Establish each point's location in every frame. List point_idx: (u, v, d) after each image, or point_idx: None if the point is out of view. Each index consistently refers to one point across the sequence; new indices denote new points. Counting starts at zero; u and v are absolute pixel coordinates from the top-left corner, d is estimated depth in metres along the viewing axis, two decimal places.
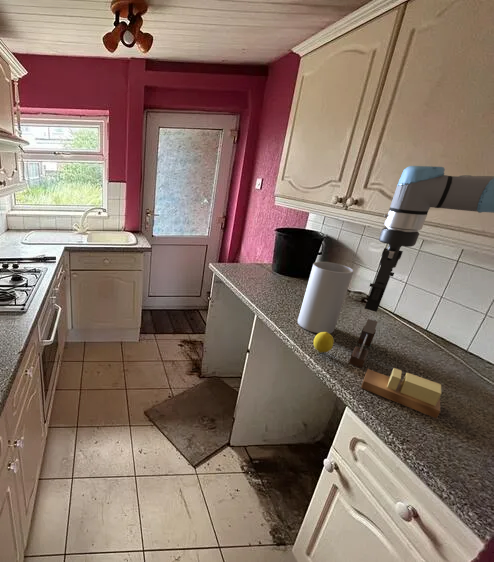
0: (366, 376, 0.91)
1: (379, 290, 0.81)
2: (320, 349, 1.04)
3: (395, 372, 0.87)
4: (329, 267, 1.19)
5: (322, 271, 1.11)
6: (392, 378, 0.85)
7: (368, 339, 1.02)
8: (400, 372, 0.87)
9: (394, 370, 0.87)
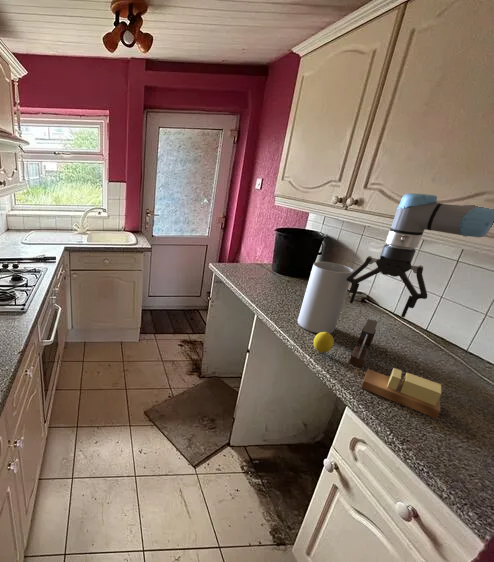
0: (366, 376, 0.91)
1: None
2: (320, 349, 1.04)
3: (395, 372, 0.87)
4: (329, 267, 1.19)
5: (322, 271, 1.11)
6: (392, 378, 0.85)
7: (368, 339, 1.02)
8: (400, 372, 0.87)
9: (394, 370, 0.87)
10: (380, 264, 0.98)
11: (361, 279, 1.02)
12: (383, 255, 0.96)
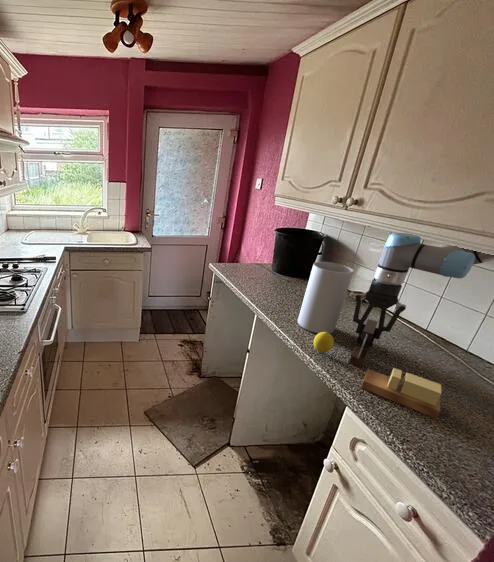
0: (366, 376, 0.91)
1: None
2: (320, 349, 1.04)
3: (395, 372, 0.87)
4: (329, 267, 1.19)
5: (322, 271, 1.11)
6: (392, 378, 0.85)
7: (368, 339, 1.02)
8: (400, 372, 0.87)
9: (394, 370, 0.87)
10: (369, 297, 1.03)
11: (364, 318, 1.06)
12: (371, 289, 1.01)
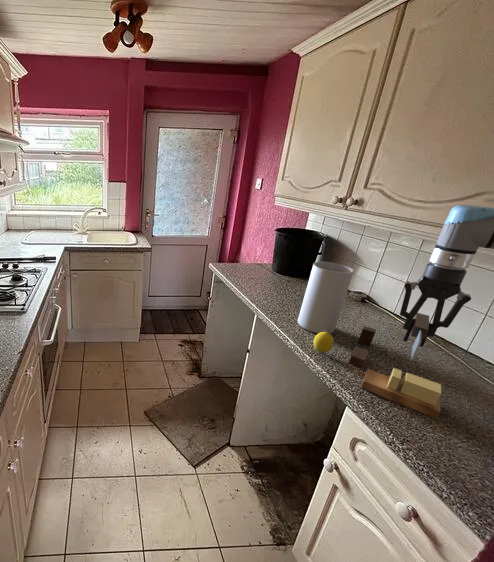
0: (366, 376, 0.91)
1: None
2: (320, 349, 1.04)
3: (395, 372, 0.87)
4: (329, 267, 1.19)
5: (322, 271, 1.11)
6: (392, 378, 0.85)
7: (422, 336, 0.84)
8: (400, 372, 0.87)
9: (394, 370, 0.87)
10: (422, 285, 0.85)
11: (414, 312, 0.88)
12: (427, 276, 0.83)
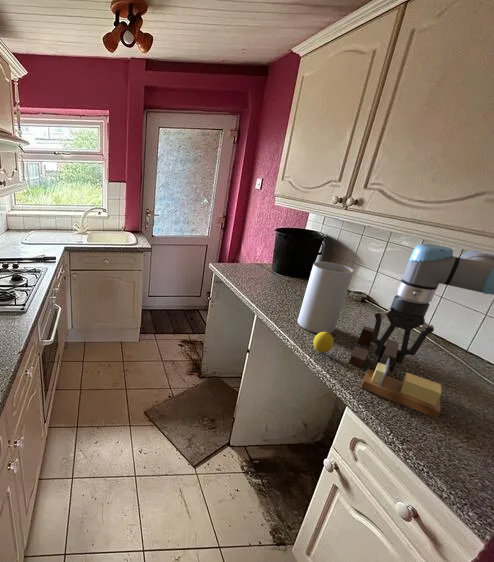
0: (366, 376, 0.91)
1: None
2: (320, 349, 1.04)
3: (379, 366, 0.89)
4: (329, 267, 1.19)
5: (322, 271, 1.11)
6: (376, 372, 0.87)
7: (390, 364, 0.90)
8: (384, 366, 0.89)
9: (378, 364, 0.90)
10: (390, 316, 0.91)
11: (384, 339, 0.94)
12: (394, 307, 0.89)
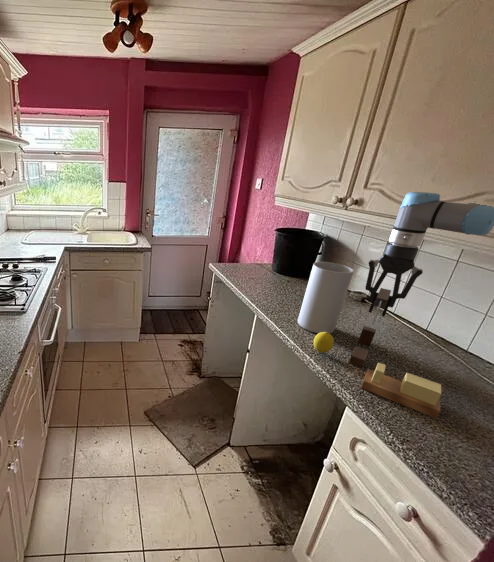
0: (366, 376, 0.91)
1: (396, 298, 0.99)
2: (320, 349, 1.04)
3: (379, 366, 0.89)
4: (329, 267, 1.19)
5: (322, 271, 1.11)
6: (376, 372, 0.87)
7: (382, 306, 0.97)
8: (384, 366, 0.89)
9: (378, 364, 0.90)
10: (383, 262, 0.98)
11: (377, 286, 1.00)
12: (386, 253, 0.96)
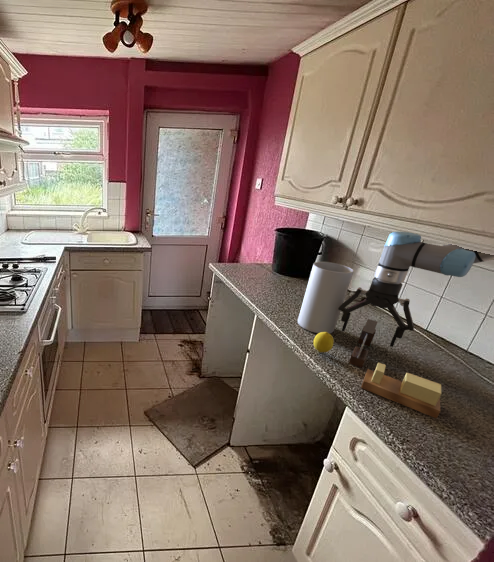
0: (366, 376, 0.91)
1: None
2: (320, 349, 1.04)
3: (379, 366, 0.89)
4: (329, 267, 1.19)
5: (322, 271, 1.11)
6: (376, 372, 0.87)
7: (368, 339, 1.02)
8: (384, 366, 0.89)
9: (378, 364, 0.90)
10: (369, 296, 1.03)
11: (352, 309, 1.08)
12: (372, 288, 1.01)
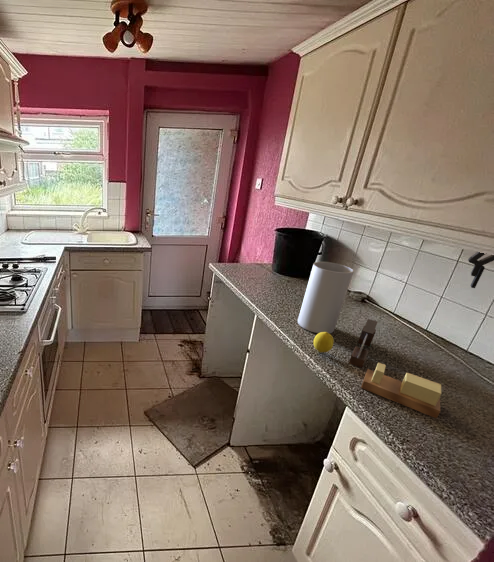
0: (366, 376, 0.91)
1: None
2: (320, 349, 1.04)
3: (379, 366, 0.89)
4: (329, 267, 1.19)
5: (322, 271, 1.11)
6: (376, 372, 0.87)
7: (368, 339, 1.02)
8: (384, 366, 0.89)
9: (378, 364, 0.90)
10: None
11: (489, 260, 0.90)
12: None
